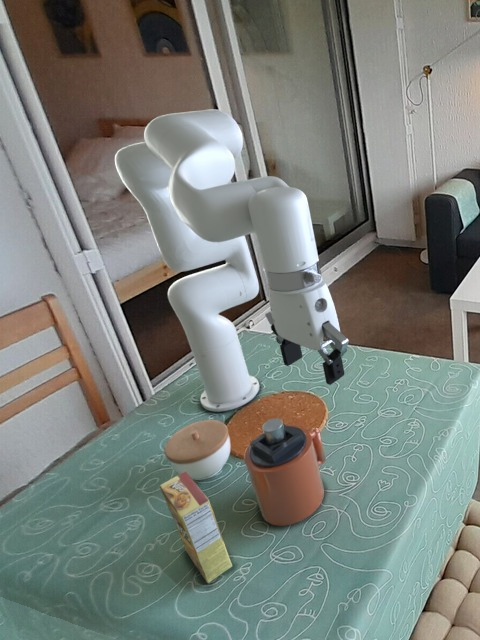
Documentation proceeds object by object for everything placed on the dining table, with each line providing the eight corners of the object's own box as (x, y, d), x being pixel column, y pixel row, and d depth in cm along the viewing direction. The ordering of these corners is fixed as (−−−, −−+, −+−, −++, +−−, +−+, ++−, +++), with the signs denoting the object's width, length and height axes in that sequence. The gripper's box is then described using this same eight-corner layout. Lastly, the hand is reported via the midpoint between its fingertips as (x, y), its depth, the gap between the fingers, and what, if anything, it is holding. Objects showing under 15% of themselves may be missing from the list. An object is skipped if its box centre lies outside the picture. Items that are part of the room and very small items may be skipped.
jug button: (262, 440, 85) (258, 427, 84) (278, 429, 87) (274, 415, 86) (274, 447, 84) (270, 434, 82) (290, 435, 86) (286, 422, 85)
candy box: (185, 551, 83) (156, 486, 76) (211, 534, 86) (186, 469, 79) (208, 585, 78) (179, 518, 71) (235, 565, 81) (210, 499, 74)
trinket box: (169, 495, 93) (153, 458, 89) (184, 454, 103) (170, 418, 98) (231, 482, 96) (218, 446, 92) (241, 443, 105) (230, 408, 101)
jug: (248, 508, 91) (227, 446, 84) (308, 459, 101) (294, 400, 94) (287, 536, 85) (268, 473, 79) (347, 481, 96) (335, 421, 89)
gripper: (355, 276, 71) (370, 374, 79) (276, 253, 79) (297, 344, 87) (314, 298, 65) (334, 401, 73) (233, 271, 73) (259, 366, 81)
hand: (314, 370), depth 80 cm, fingers open, 9 cm apart
